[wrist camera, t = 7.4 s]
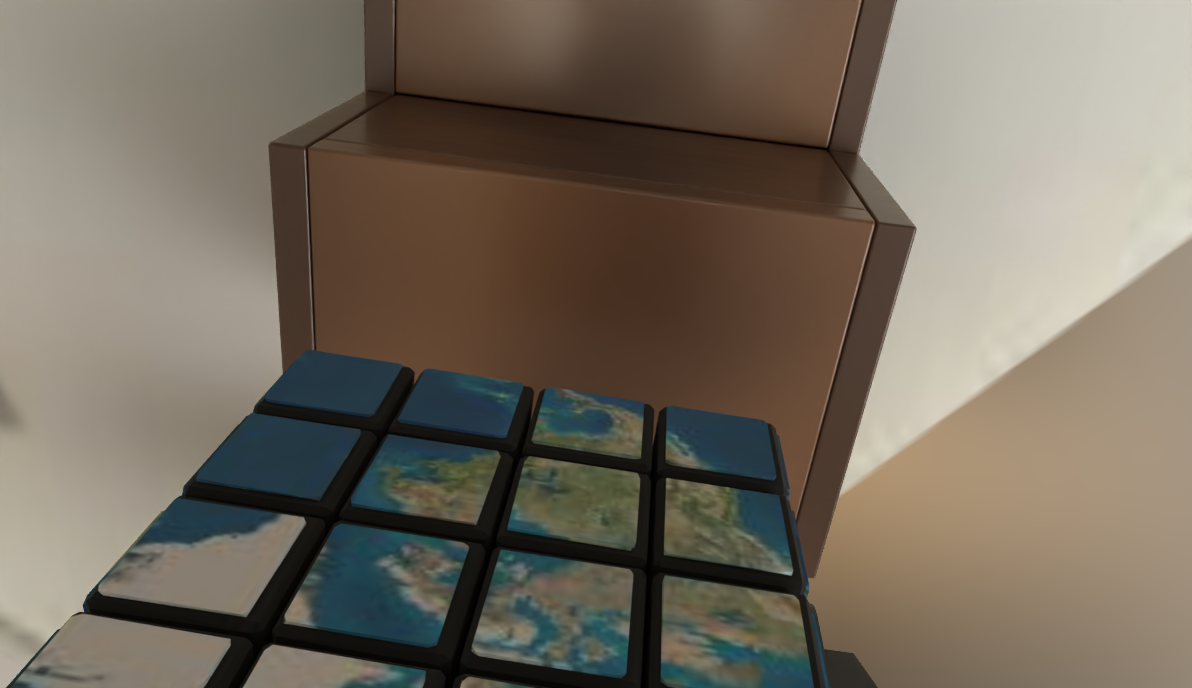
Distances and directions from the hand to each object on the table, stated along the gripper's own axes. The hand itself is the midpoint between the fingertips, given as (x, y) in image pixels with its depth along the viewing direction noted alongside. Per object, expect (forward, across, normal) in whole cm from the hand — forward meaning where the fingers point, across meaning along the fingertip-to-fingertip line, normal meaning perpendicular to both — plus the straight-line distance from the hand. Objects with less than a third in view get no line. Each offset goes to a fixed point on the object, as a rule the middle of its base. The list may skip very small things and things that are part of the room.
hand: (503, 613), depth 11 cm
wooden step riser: (+19, 0, -1) cm, 19 cm away
